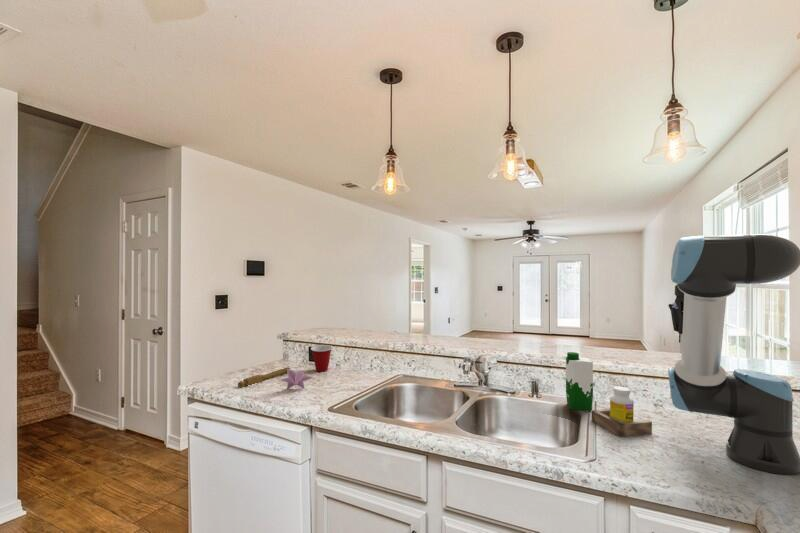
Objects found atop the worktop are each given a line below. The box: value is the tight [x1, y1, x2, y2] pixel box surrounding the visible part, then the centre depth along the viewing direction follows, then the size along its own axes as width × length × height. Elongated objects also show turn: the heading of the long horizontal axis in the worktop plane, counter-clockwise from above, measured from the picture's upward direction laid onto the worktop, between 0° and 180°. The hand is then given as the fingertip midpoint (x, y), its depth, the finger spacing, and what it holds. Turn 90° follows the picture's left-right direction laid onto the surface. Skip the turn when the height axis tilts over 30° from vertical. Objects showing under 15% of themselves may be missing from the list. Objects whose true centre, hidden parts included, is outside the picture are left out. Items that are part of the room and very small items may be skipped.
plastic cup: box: [310, 344, 333, 373], centre depth 202 cm, size 11×11×12 cm
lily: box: [280, 368, 314, 389], centre depth 168 cm, size 12×12×10 cm
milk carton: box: [565, 351, 594, 411], centre depth 148 cm, size 9×9×20 cm
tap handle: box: [237, 366, 291, 388], centre depth 186 cm, size 3×3×30 cm
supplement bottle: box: [609, 386, 635, 423], centre depth 129 cm, size 7×7×13 cm
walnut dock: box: [591, 408, 653, 437], centre depth 130 cm, size 12×13×4 cm
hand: (684, 353), depth 137 cm, fingers closed
